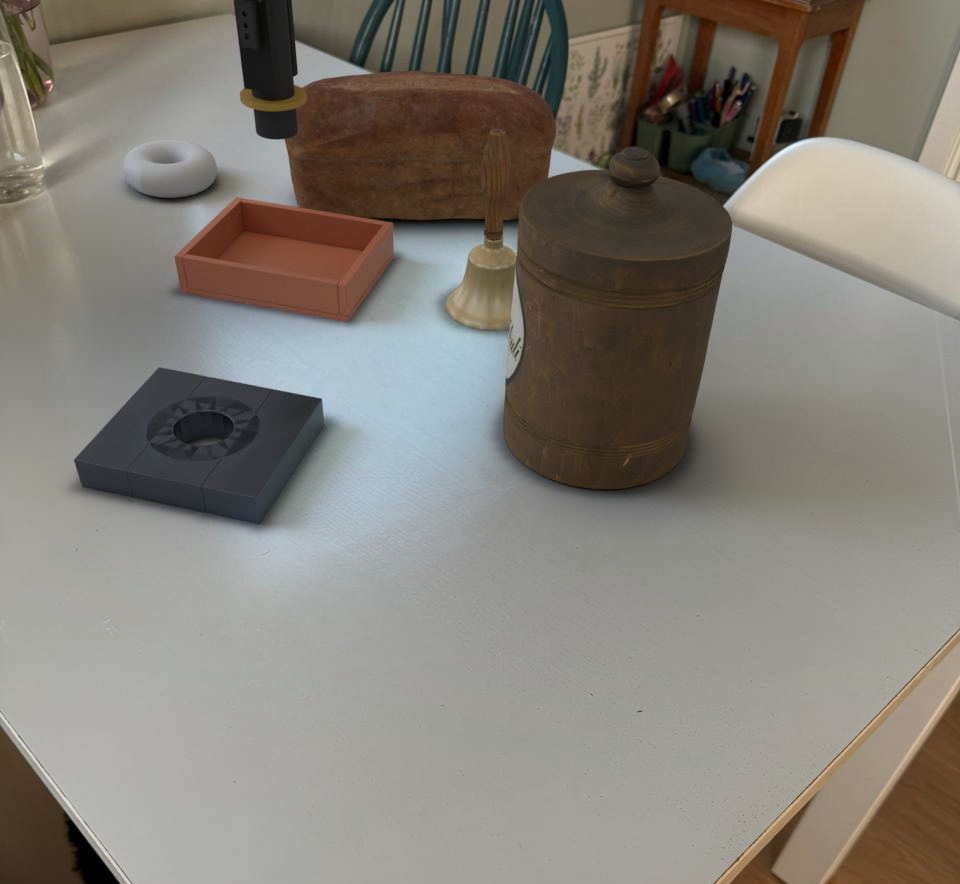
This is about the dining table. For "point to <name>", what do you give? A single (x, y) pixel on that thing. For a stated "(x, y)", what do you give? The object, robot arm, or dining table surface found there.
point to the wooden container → (611, 321)
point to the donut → (170, 168)
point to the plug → (280, 107)
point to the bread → (415, 144)
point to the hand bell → (489, 251)
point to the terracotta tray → (287, 258)
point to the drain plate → (203, 468)
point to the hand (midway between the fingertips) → (271, 80)
